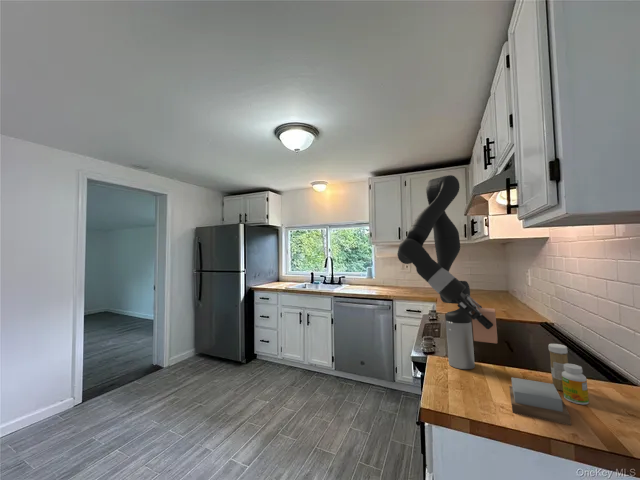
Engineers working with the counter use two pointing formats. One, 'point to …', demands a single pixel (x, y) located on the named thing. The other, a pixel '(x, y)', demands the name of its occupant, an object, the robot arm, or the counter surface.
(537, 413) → the walnut slab
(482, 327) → the terracotta block
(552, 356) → the sprinkles bottle
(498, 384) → the counter surface
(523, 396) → the grey slab
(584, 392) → the supplement bottle
